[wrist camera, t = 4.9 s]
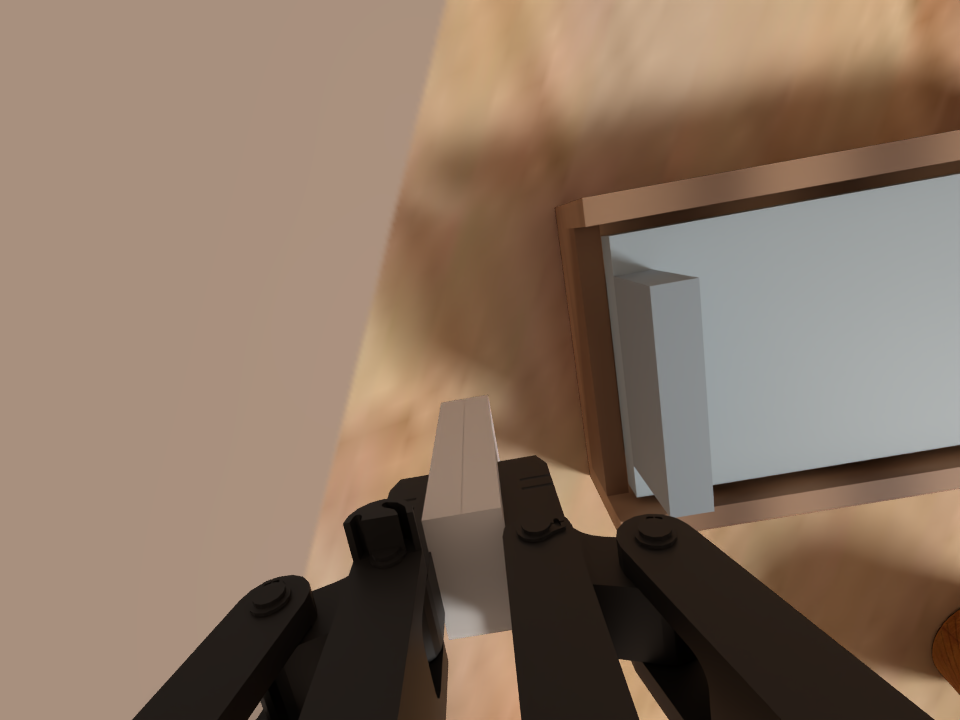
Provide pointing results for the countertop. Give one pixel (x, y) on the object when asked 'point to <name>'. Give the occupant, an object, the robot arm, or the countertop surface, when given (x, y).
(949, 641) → the disposable coffee cup
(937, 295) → the cover plate
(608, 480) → the box body
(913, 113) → the countertop surface
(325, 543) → the countertop surface
